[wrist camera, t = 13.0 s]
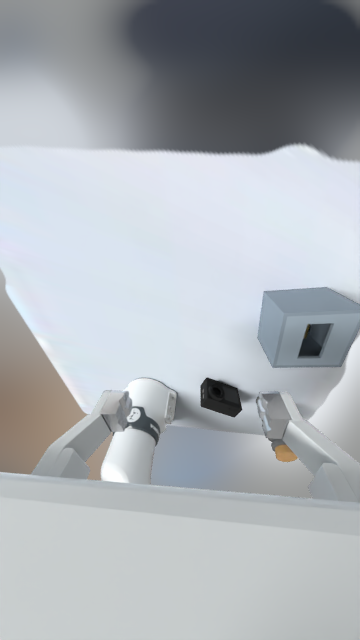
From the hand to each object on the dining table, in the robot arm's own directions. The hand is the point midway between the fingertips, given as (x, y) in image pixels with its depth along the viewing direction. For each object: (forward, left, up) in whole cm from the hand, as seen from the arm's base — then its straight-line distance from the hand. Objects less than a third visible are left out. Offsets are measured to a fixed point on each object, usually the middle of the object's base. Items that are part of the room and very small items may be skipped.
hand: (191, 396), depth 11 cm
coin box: (-11, -20, -29) cm, 37 cm away
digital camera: (-35, -5, -29) cm, 46 cm away
